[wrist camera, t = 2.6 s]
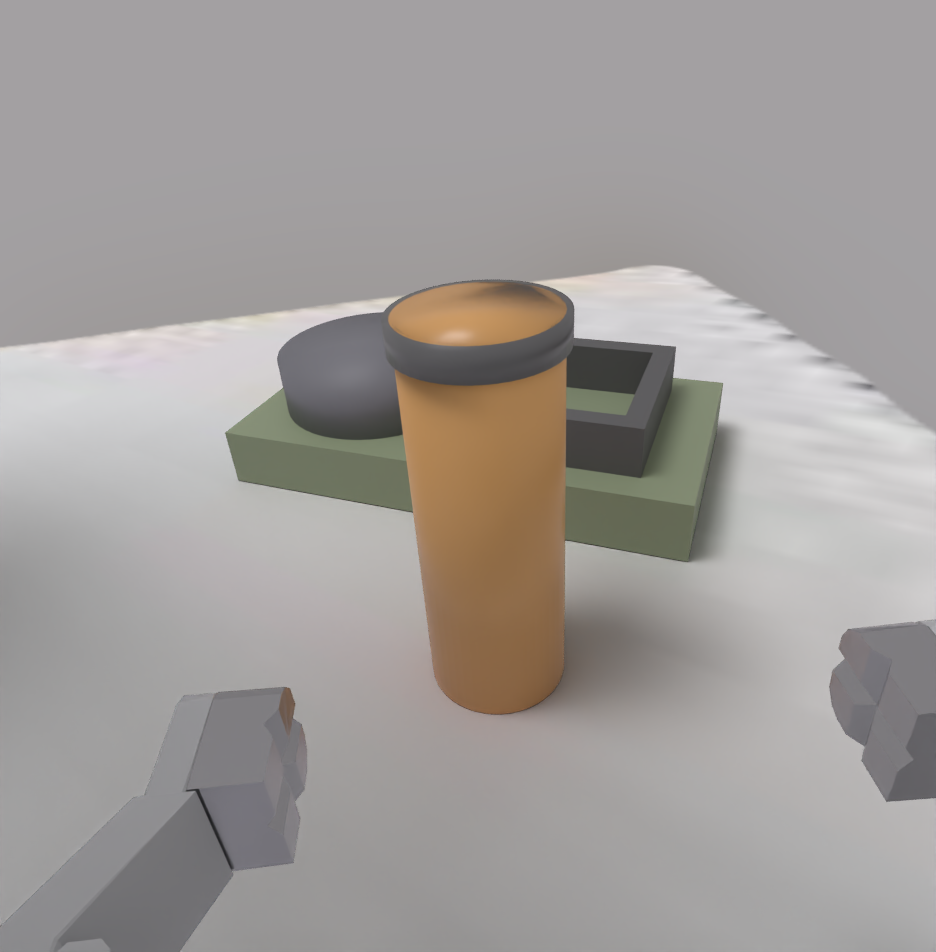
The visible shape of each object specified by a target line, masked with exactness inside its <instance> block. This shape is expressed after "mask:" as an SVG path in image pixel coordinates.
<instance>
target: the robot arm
mask: <svg viewBox="0 0 936 952" xmlns="http://www.w3.org/2000/svg"><path fill="white" fill-rule="evenodd" d="M839 650H840V652H841V653H842V655H843V656H844V658H845V659H844V660H843V661H842V662H841V663H840V664H839V665H838V666H837V667H836V668H835V669H833V671H832V676H831V681H830V686H829V688H830V695H831V703H832V707H833V709H834V712H835V715H836V717H837V720H838V722H839V723H840V725H841V727H842V729H843V730H844V732H845V734H846V735H848V736H849V737H851V738H852V739H854V740H855V741H857V742H859V743H860V744H862V745H863V746H864V750H863V756H862V762H863V764H864V766H865V767H866V769H867V770H868V772H869V774H870V775H871V777H872V779H873V780H874V782H875V784H876V785H877V787H878V789H879V790H880V792H881V794H882V795H883V797H884V798H885V800H886V802H890V801H904V800H917V799H930V798H936V620H927V621H918V622H907V623H898V624H889V625H880V626H871V627H862V628H854V629H848V630H847V631H846V632H845V633H844V634H843V635H842V638H841V641H840V645H839ZM294 708H295V702H294V699H293V696H292V693H291V690H290V688H287V687H280V688H267V689H254V690H241V691H228V692H218V693H209V694H196V695H184V696H183V697H182V699H181V700H180V701H179V702H178V704H177V705H176V707H175V710H174V713H173V716H172V719H171V721H170V724H169V727H168V730H167V733H166V736H165V738H164V741H163V744H162V747H161V750H160V753H159V755H158V758H157V761H156V764H155V767H154V770H153V772H152V775H151V778H150V781H149V784H148V787H147V789H146V792H145V795H144V796H139V797H133V798H132V799H131V800H130V801H129V802H128V803H127V804H126V805H125V806H124V807H123V808H122V809H121V810H120V811H119V812H118V813H117V814H116V815H115V816H114V817H113V818H112V819H111V820H110V821H109V822H108V823H107V824H106V825H104V826H103V827H102V828H101V829H100V830H99V831H98V832H97V833H96V834H95V835H94V836H93V837H92V838H91V839H90V840H89V841H88V842H87V843H86V844H85V845H84V846H83V847H82V848H81V849H80V850H79V851H78V852H77V853H76V854H75V855H74V856H73V857H72V858H70V859H69V860H68V861H67V862H66V863H65V864H64V865H63V866H62V867H61V868H60V869H59V870H58V871H57V872H56V873H55V874H54V875H53V876H52V877H51V878H50V879H49V880H48V881H47V882H46V883H45V884H44V885H43V886H42V887H41V888H40V889H39V890H38V891H36V892H35V893H34V894H33V895H32V896H31V897H30V898H29V899H28V900H27V901H26V902H25V903H24V904H23V905H22V906H21V907H20V908H19V909H18V910H17V911H16V912H15V913H14V914H13V915H12V916H11V917H10V918H9V919H8V920H7V921H6V922H5V923H4V924H2V925H1V926H0V952H179V951H180V950H181V949H182V947H183V946H184V944H185V943H186V941H187V940H188V939H189V937H190V936H191V934H192V933H193V932H194V930H195V929H196V927H197V926H198V924H199V923H200V922H201V920H202V919H203V917H204V916H205V914H206V913H207V912H208V910H209V909H210V907H211V906H212V904H213V903H214V902H215V900H216V899H217V897H218V896H219V894H220V893H221V892H222V890H223V889H224V887H225V886H226V885H227V883H228V882H229V880H230V879H231V877H232V876H233V873H232V871H237V870H245V869H252V868H260V867H267V866H275V865H283V864H290V863H294V857H295V850H296V843H297V837H298V830H299V824H300V816H299V813H298V810H297V807H296V804H295V800H296V799H297V798H298V797H299V796H300V794H301V793H302V792H303V791H304V789H305V782H306V774H307V748H306V741H305V735H304V731H303V728H302V724H300V723H299V722H297V721H296V720H294V719H293V714H294Z"/></svg>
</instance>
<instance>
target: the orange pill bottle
mask: <svg viewBox="0 0 936 952" xmlns="http://www.w3.org/2000/svg"><path fill="white" fill-rule="evenodd" d="M381 325H382V332H383V339H384V347H385V354H386V358H387V361H388V362H389V364H390V365H391V366H392V367H393V368H394V369H395V376H396V384H397V392H398V400H399V407H400V415H401V423H402V430H403V438H404V446H405V453H406V461H407V469H408V477H409V484H410V492H411V500H412V507H413V515H414V523H415V530H416V538H417V546H418V554H419V561H420V569H421V577H422V584H423V592H424V600H425V607H426V615H427V623H428V631H429V638H430V646H431V654H432V661H433V669H434V674H435V678H436V681H437V683H438V685H439V686H440V688H441V690H442V691H443V692H444V693H445V694H446V695H447V696H448V697H449V698H450V699H451V700H452V701H454V702H456V703H457V704H459V705H461V706H463V707H465V708H467V709H470V710H473V711H476V712H481V713H487V714H507V713H514V712H518V711H522V710H525V709H528V708H530V707H532V706H534V705H536V704H538V703H539V702H541V701H543V700H544V699H545V698H546V697H548V696H549V695H550V694H551V693H552V692H553V691H554V689H555V688H556V687H557V685H558V684H559V682H560V679H561V677H562V674H563V670H564V615H565V490H566V366H567V356H568V355H569V354H570V353H571V351H572V349H573V345H574V305H573V303H572V301H571V300H570V299H569V298H568V297H567V296H566V295H565V294H563V293H562V292H559V291H557V290H555V289H553V288H550V287H547V286H543V285H540V284H535V283H530V282H523V281H513V280H472V281H462V282H454V283H448V284H443V285H438V286H433V287H430V288H426V289H423V290H420V291H417V292H414V293H411V294H409V295H406V296H404V297H402V298H400V299H398V300H397V301H395V302H394V303H392V304H391V305H390V306H389V307H388V308H386V310H385V311H384V312H383V314H382V317H381Z"/></svg>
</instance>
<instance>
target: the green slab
mask: <svg viewBox="0 0 936 952" xmlns="http://www.w3.org/2000/svg"><path fill="white" fill-rule="evenodd" d="M382 314H383V312H382V313H370V314H362V315H355V316H350V317H345V318H340V319H336V320H332V321H329V322H325V323H323V324H320V325H317V326H314V327H312V328H310V329H307V330H305V331H303V332H301V333H299V334H298V335H296V336H295V337H293V338H292V339H290V340H289V341H288V342H287V343H286V344H285V345H284V346H283V347H282V348H281V350H280V351H279V354H278V357H277V361H278V366H279V370H280V375H281V379H282V384H283V388H282V389H281V390H280V391H278V392H277V393H276V394H275V395H273V396H272V397H271V398H269V399H268V400H267V401H266V402H264V403H263V404H262V405H260V406H259V407H258V408H256V409H255V410H254V411H253V412H251V413H250V414H249V415H247V416H246V417H245V418H244V419H242V420H241V421H240V422H238V423H237V424H236V425H235V426H233V427H232V428H231V429H229V430H228V431H227V432H226V433H225V434H226V437H227V441H228V445H229V448H230V452H231V455H232V459H233V462H234V466H235V469H236V473H237V477H238V480H240V481H246V482H251V483H257V484H262V485H268V486H273V487H279V488H284V489H290V490H295V491H301V492H306V493H312V494H317V495H323V496H328V497H334V498H339V499H345V500H350V501H356V502H361V503H367V504H372V505H378V506H383V507H389V508H394V509H400V510H405V511H411V512H413V507H412V500H411V492H410V484H409V477H408V469H407V461H406V453H405V446H404V438H403V430H402V423H401V415H400V407H399V400H398V392H397V384H396V376H395V369H394V368H393V367H392V366H391V365H390V364H389V362H388V361H387V358H386V354H385V347H384V339H383V332H382V325H381V317H382ZM675 351H676V347H673V346H661V345H649V344H638V343H626V342H614V341H603V340H591V339H579V338H574V345H573V349H572V351H571V353H570V354H569V355H568V356H567V366H566V490H565V540H571V541H576V542H582V543H587V544H593V545H598V546H604V547H609V548H615V549H620V550H626V551H631V552H637V553H642V554H648V555H653V556H659V557H664V558H670V559H675V560H681V561H686V562H688V559H689V554H690V550H691V545H692V541H693V536H694V532H695V527H696V523H697V518H698V513H699V509H700V504H701V500H702V495H703V491H704V486H705V482H706V477H707V473H708V468H709V464H710V459H711V454H712V450H713V445H714V441H715V436H716V432H717V425H718V417H719V410H720V403H721V395H722V388H723V383H718V382H708V381H698V380H688V379H678V378H673V372H674V361H675Z"/></svg>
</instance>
